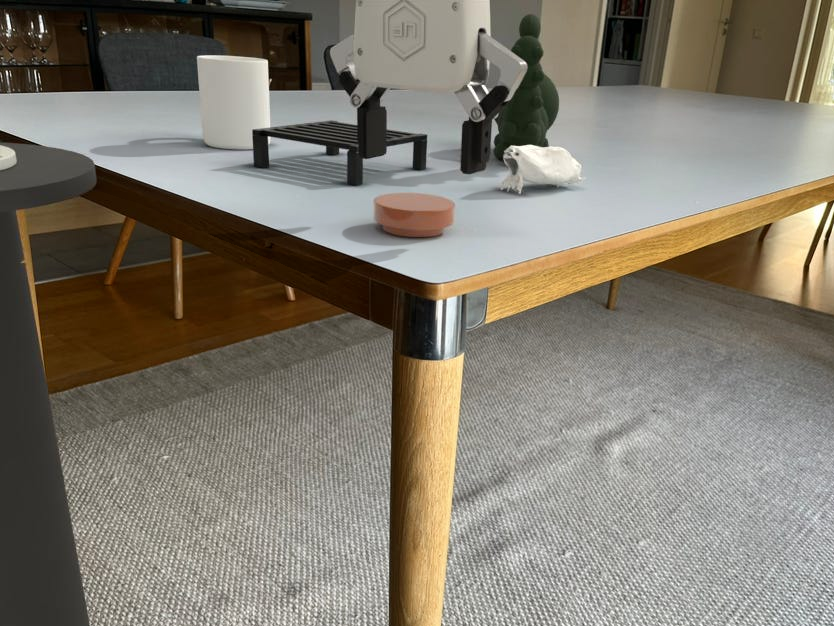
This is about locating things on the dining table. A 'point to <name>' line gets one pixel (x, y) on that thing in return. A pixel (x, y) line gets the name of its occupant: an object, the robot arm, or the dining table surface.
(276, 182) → the dining table surface
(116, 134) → the dining table surface
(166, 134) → the dining table surface
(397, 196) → the terracotta round box
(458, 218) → the dining table surface
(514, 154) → the white lumpy oblong piece
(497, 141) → the toy figurine
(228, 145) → the mug
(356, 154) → the rack
